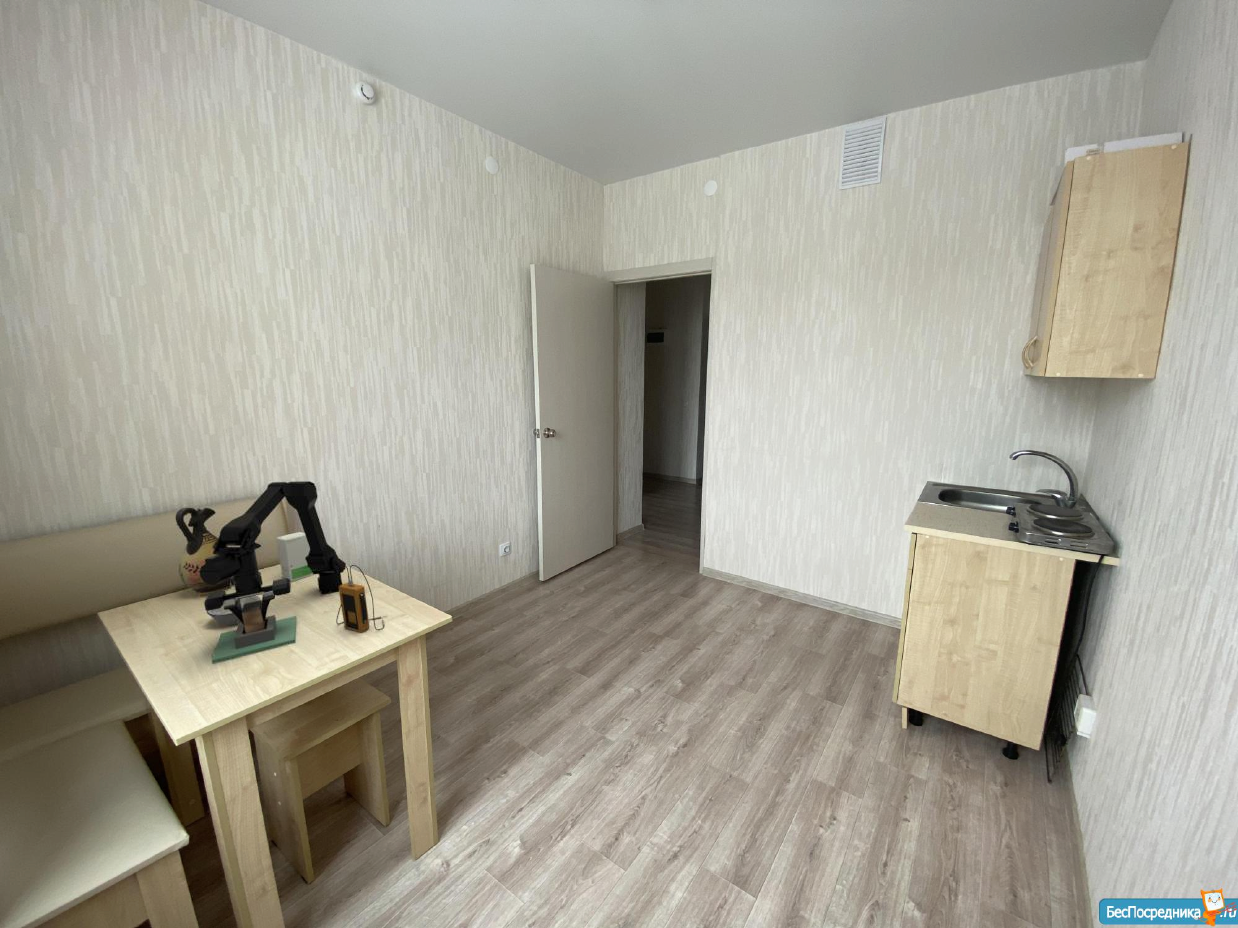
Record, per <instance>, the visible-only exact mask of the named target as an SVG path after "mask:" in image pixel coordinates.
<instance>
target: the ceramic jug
mask: <svg viewBox="0 0 1238 928" xmlns="http://www.w3.org/2000/svg"><path fill="white" fill-rule="evenodd" d="M188 514H190V516H191V517H190V518H189V520H188V524H186V522H185V519H184V517H185V516H187V515H188ZM214 515H216V511H215V510H214V509H212V508H209V507H204V508H202V509H201V508H197V509H195V508H193V507H183V508H181V509H179V510H178V511H177V512H176V513H175V522H176V526H177V527H178V528H179V529H180V531H181V533H182V535H183V536H184V537H185V538H186V542H187V543H186V544H185V547H184V548H183V551H182V552H181V556H180V559H179V563H178V574H179V578H180V580H181V582H182V583H183V584H184V586H185V587H188V588H189V589H192V590H193V591H195V592H196V594H197V595H198V596H204V595H208V594H210V593H215V592H220V591H226V590H227V589H230V588H232V585H231V582H230V578H228V579H226V580H224V581H222V582H220V583H218V584H216V585H209V584H207V583H205V582H204V581H203V580H202V579H201V577H200V573H199V572H200V569H201V567H202V566H203V565H204V564H205V559H206V558H209V557H213V556H215V555H218V554H213V551H214V548H215V546H216V543H217V541H218V538H219V537H217V536H216V535H214V534H213V533H211V532H210V531H209V530H208V529H207V527H206V525H205V523H206V522H207V521H208V520H209V519H210V518H212V517H213V516H214ZM190 527H191V528H192V531H191V530H190ZM226 547H229V546H226Z"/></svg>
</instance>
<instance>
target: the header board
mask: <svg viewBox="0 0 1238 928" xmlns="http://www.w3.org/2000/svg"><path fill="white" fill-rule="evenodd" d="M296 632H297V616H296V615H294V616H290V617H285V618H281V619H277V620H276V615H275V614H272V615H269V616H266V618H265V629H263V630H259V631H255V632H251V633H247V634H246V632H245V626H244V625H243V624H242V622H240V623H237V627H236V629H234V630H229V631H225V632H220V635H219V637H218V640H217V643H216V647H215V650H214V652H213V656H212V658H211V664H212V665H213V664H217V663H221V662H226V661H229V660H233V659H237V658H240V657H244V656H248V655H253V654H256V653H260V652H264V651H269V650H271V649H276V648H281V647H283V646H287V645H290V644H291V645H292V644H296V640H297V639H296V636H297V633H296Z"/></svg>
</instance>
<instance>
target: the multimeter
mask: <svg viewBox="0 0 1238 928" xmlns="http://www.w3.org/2000/svg"><path fill="white" fill-rule="evenodd" d="M341 563H342V562H341ZM341 563H340V564H339V567H340V565H341ZM342 564H343V563H342ZM343 565H344V566H345V567H346V568H345V569H346V571H347V578H348V579H347V580H348V581H347V582H345V583H342V584H343V585H341V584H340V581H339V576H338V572H337V576H338V581H339V584H340V586H339V591H338V592H339V593H338V594H339V599H340V600H339V601H340V605H339V608H338V611H337V616H336V621H335V623H336V624H337V625H341V624H344V628H345V630H346V629H347V630H352V631H356V632H359V633H362V632H365V631H366V630H368V629H370V621H373V626H374V628H375V631H380V630H383V629H384V628H385V620H384V619H383V618H385V617H387V615H384V616H381V615H380V616H375V607H374V597H373V593H372V589H371V586H370V585H369V582H368V579H367V577H366V576H365V573H364V572H363V570H362V569H361V568H360V567H359V566H358V565H355V564H352V565H350V566H349V567H347V565H345V564H343ZM339 567H338V571H339ZM352 567H356V568H358V569H359V571H360V572H361V573H362V575H363V577H364V579H365V581H366V584H367V587H368V589H369V592H370V597H371V601H372V603H371V604H372V614H373V615H372V618H369V613H368V611H369V610H368V606H367V605H368V603H367V597H366V590H365V586H363V585H360V584H355V583H354V580H353V575H352V571H351V569H352ZM348 568H349V569H348ZM340 611H341V614H342V618H343V619H342V620H343V621H342V622H340V623H338V619H339V615H340ZM377 619H382V621H381V622H382V628H379V629H378V628H377V627H376V621H375V620H377Z"/></svg>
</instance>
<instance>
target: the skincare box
mask: <svg viewBox="0 0 1238 928" xmlns="http://www.w3.org/2000/svg"><path fill="white" fill-rule="evenodd" d="M276 543H277V550H278V558H279V564H280V570H281V576H282V577H281V579H284V578H288V579H290V583H292V582H294V581H295V582H296V581H298V580H301V579H304V578H307V577H310V576H314V575H315V574H313V573H312V571H311V569H310V568H309V567H308V565H307V561H306V560H305V557H306V556H308V554H309V551H310V547H309V544H308V542H307V539H306V536H305V533H304V532H301V531H297V532H295V533H293V532H292V533H289V534H286V535H282V536H277V537H276Z"/></svg>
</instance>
